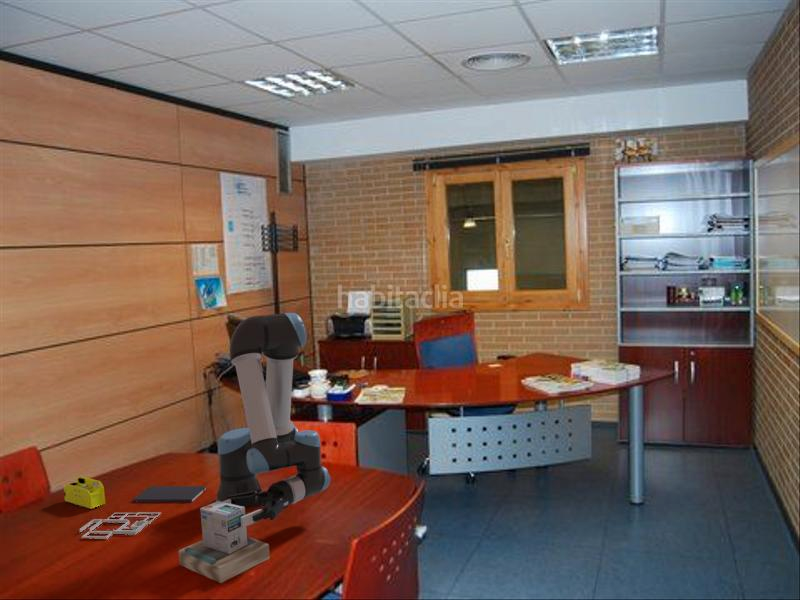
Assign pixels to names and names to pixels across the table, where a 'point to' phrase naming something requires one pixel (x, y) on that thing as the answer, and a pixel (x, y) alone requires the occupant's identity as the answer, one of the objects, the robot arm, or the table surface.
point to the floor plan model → (119, 531)
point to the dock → (223, 559)
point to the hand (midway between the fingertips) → (225, 516)
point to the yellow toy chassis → (85, 492)
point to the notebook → (170, 494)
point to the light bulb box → (223, 527)
